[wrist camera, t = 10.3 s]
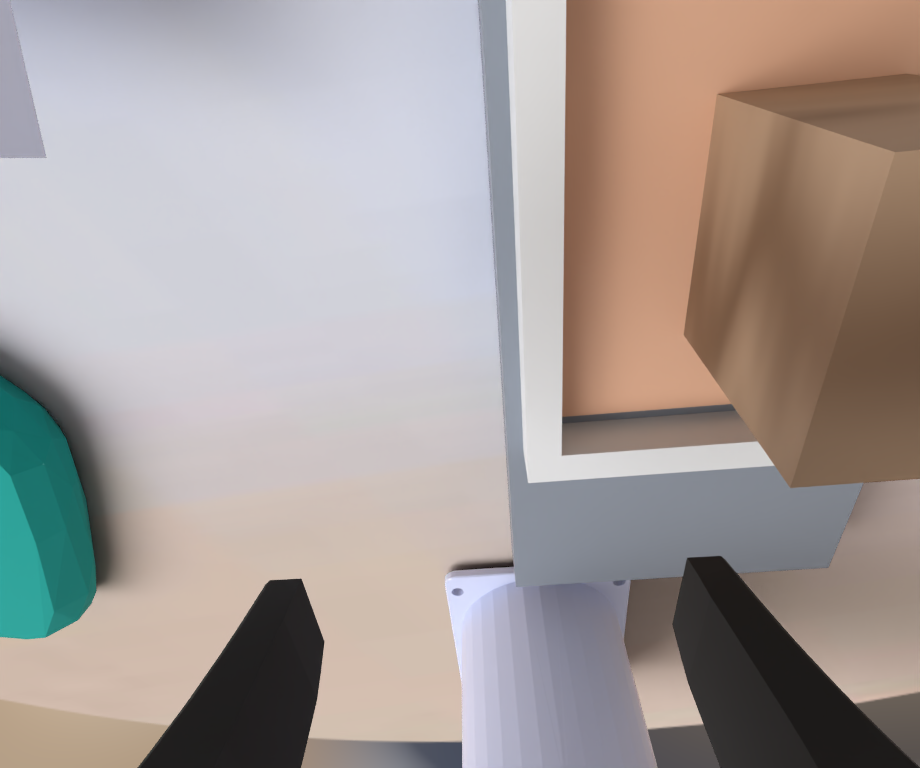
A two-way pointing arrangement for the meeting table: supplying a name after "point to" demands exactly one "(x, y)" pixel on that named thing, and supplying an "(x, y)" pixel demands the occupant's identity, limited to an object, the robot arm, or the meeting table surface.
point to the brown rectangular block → (815, 275)
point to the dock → (640, 276)
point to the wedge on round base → (16, 96)
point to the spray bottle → (40, 523)
